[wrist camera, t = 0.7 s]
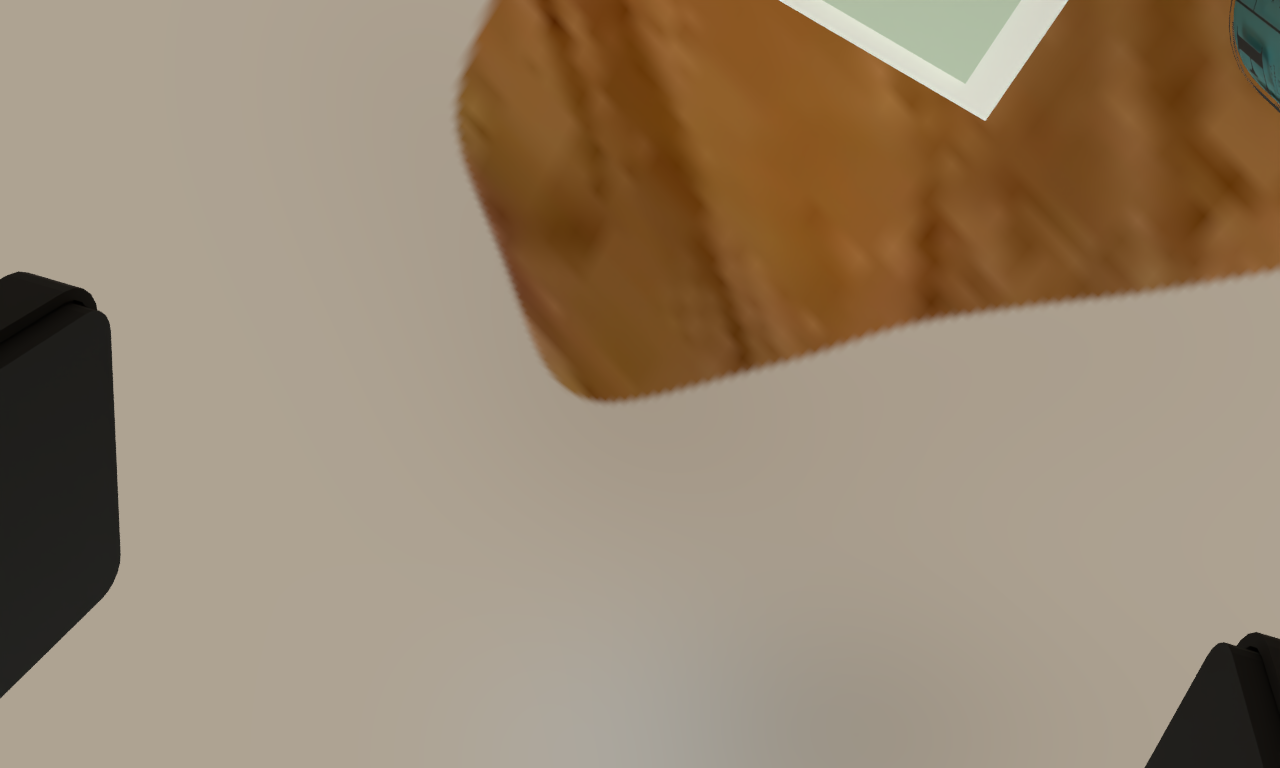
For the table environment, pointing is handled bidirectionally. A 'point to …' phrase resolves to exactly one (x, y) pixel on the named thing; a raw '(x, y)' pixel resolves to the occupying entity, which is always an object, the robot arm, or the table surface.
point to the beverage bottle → (1259, 42)
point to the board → (944, 40)
